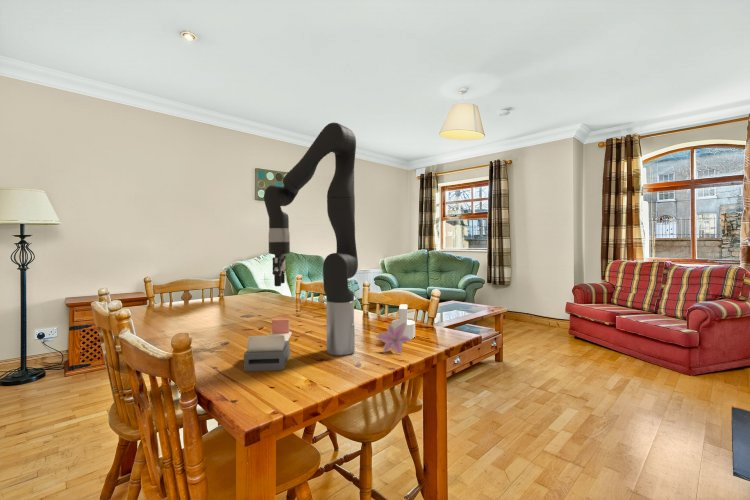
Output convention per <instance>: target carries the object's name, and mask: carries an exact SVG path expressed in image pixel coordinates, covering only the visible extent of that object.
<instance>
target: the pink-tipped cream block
mask: <svg viewBox="0 0 750 500" xmlns="http://www.w3.org/2000/svg"><path fill="white" fill-rule="evenodd" d="M292 333H293V332H292V331H290V318H272V319H271V331H270V333H269V334H268V336H269V335H284V336H285V341H290V340H289V339H290V337H291V335H292Z"/></svg>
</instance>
